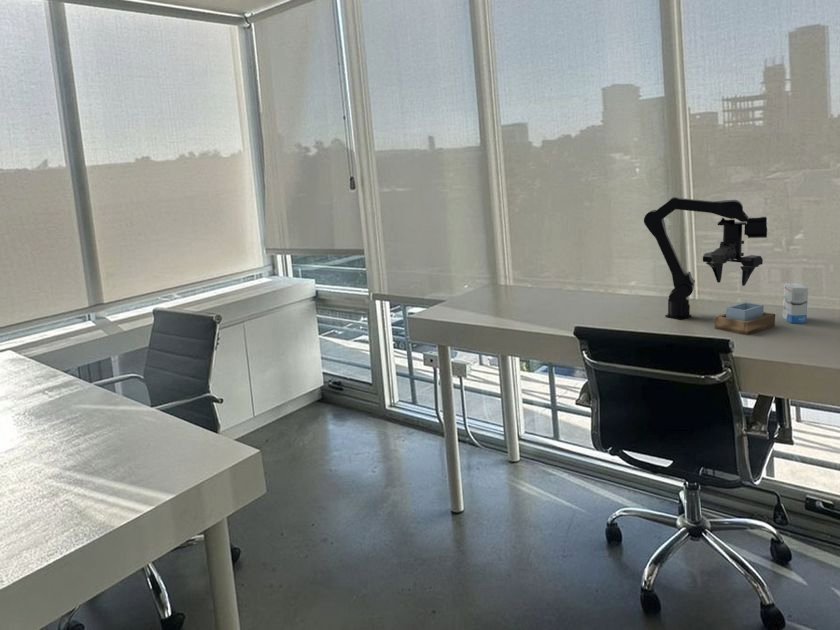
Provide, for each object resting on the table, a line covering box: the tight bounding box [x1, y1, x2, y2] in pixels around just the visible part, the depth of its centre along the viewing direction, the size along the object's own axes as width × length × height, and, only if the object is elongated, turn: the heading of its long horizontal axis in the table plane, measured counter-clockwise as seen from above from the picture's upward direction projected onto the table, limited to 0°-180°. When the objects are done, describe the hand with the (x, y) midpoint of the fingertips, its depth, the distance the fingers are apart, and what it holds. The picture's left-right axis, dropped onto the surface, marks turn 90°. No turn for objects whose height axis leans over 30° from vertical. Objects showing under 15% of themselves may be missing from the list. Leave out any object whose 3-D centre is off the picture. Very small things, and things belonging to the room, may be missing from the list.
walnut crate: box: [714, 311, 776, 336], centre depth 220 cm, size 11×15×4 cm
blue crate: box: [725, 302, 765, 321], centre depth 219 cm, size 6×10×6 cm, turn 122°
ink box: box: [782, 282, 809, 324], centre depth 223 cm, size 8×5×12 cm, turn 168°
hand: (731, 284), depth 229 cm, fingers open, 9 cm apart
